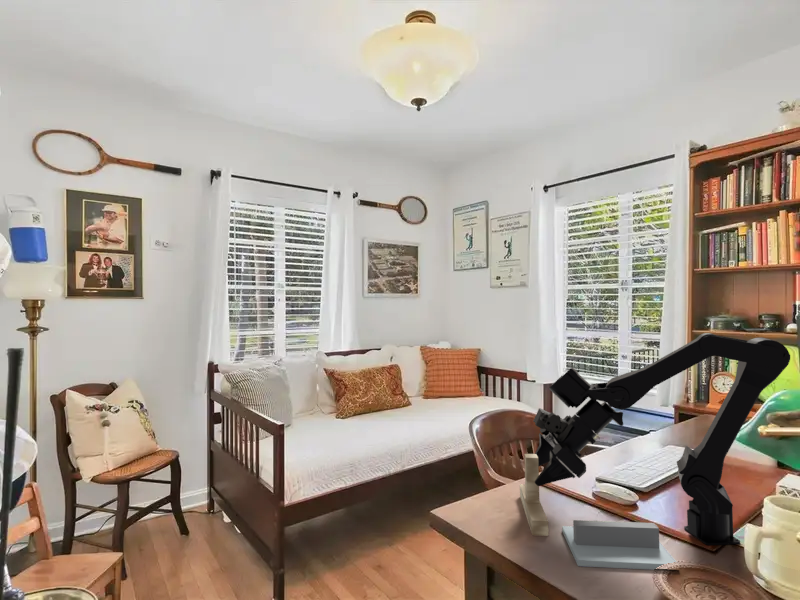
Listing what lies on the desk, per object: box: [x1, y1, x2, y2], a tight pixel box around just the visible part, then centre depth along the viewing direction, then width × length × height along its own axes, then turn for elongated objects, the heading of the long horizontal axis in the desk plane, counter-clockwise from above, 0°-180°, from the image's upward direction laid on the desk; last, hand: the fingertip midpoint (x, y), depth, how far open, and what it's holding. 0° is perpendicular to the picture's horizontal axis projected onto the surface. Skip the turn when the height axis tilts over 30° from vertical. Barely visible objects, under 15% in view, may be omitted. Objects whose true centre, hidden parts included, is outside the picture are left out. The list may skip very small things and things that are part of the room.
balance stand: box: [561, 519, 677, 571], centre depth 82 cm, size 16×12×4 cm
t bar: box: [519, 453, 549, 537], centre depth 97 cm, size 3×18×12 cm, turn 173°
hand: (532, 475), depth 97 cm, fingers open, 9 cm apart
